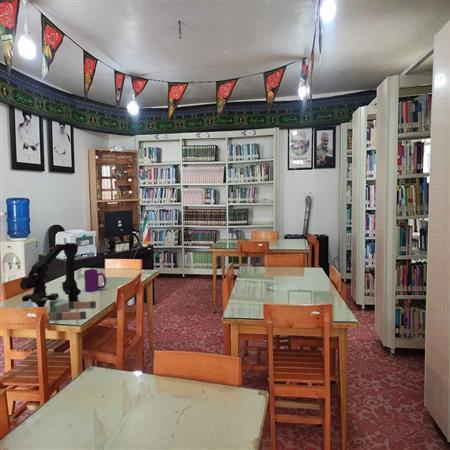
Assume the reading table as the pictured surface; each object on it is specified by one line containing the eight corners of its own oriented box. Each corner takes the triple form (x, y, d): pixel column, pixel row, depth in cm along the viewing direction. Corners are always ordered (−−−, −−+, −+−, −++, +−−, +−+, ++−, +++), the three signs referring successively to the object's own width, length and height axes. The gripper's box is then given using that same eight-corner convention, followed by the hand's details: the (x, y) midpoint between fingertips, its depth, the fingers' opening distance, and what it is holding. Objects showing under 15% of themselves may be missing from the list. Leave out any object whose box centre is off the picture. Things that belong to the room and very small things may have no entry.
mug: (88, 288, 264) (87, 269, 263) (108, 288, 264) (107, 268, 263) (83, 292, 255) (82, 271, 254) (104, 292, 255) (103, 271, 254)
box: (62, 309, 218) (61, 297, 217) (70, 315, 208) (69, 302, 207) (49, 312, 213) (49, 300, 212) (56, 318, 203) (56, 305, 202)
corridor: (56, 308, 219) (55, 302, 219) (95, 307, 221) (95, 301, 220) (42, 320, 199) (41, 313, 199) (85, 318, 201) (85, 312, 201)
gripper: (16, 290, 198) (18, 316, 200) (50, 288, 200) (52, 315, 201) (25, 284, 210) (27, 310, 211) (58, 283, 211) (59, 309, 212)
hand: (41, 311), depth 209 cm, fingers closed
